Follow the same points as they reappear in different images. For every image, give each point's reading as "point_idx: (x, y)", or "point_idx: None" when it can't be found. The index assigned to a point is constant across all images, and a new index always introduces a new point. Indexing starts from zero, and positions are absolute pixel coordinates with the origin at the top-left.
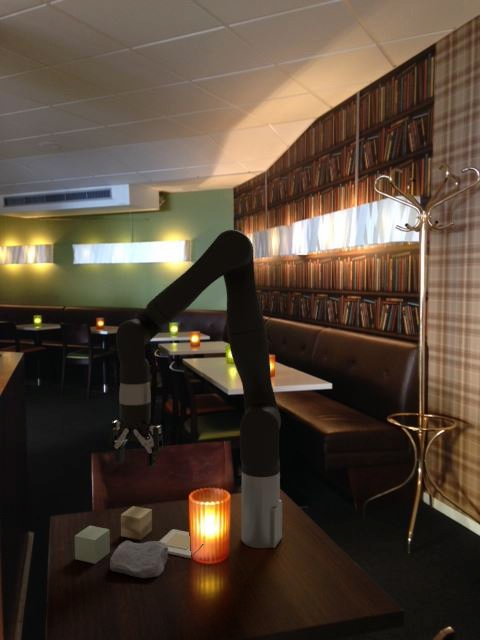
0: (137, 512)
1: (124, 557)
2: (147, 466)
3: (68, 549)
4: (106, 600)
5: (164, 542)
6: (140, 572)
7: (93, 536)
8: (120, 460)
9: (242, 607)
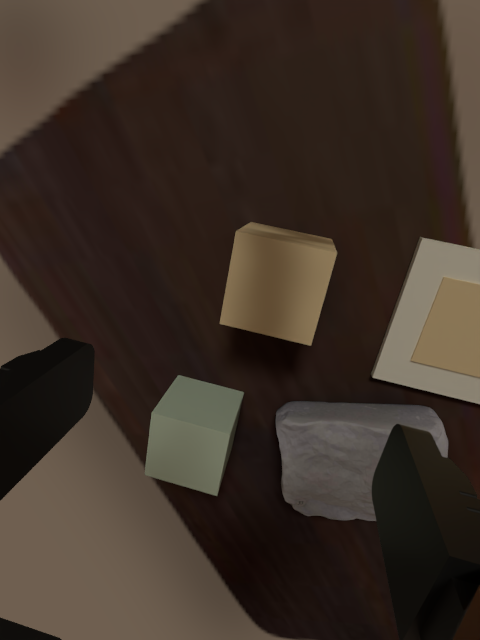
0: (280, 293)
1: (321, 496)
2: (373, 495)
3: (126, 388)
4: (322, 568)
5: (408, 342)
6: None
7: (201, 477)
8: (75, 417)
9: None
